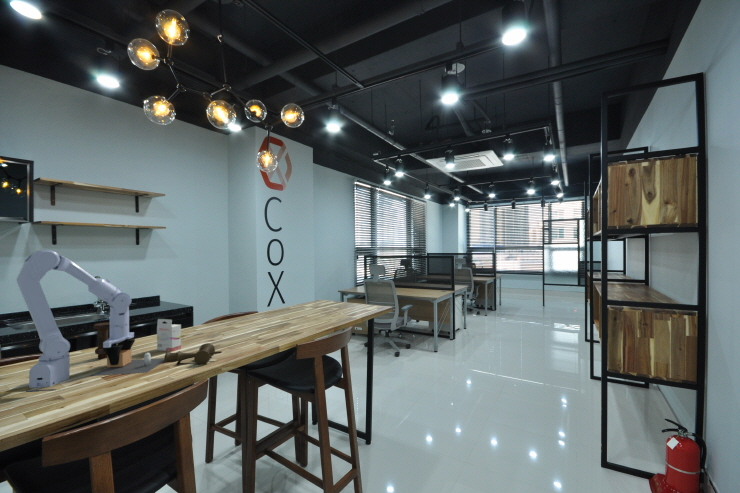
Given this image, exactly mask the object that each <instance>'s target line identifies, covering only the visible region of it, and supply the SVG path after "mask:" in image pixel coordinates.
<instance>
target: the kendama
mask: <svg viewBox="0 0 740 493" xmlns="http://www.w3.org/2000/svg"><path fill="white" fill-rule="evenodd" d="M165 352H166V353H165V354H164V357H163V358H164V362H163V363H169V362H177V364H180V363H181V362H182V361H185V360H189V359H194V362H195V364H197V365H199V366H200V365H206V364H207V363H209V362H210V360H211V359H210V358H212V357H213V356H214V355H216V354H218V355H219V354H221V353H223V351H221V350H220V351H216V349H215V346H214V345H213V344H212V343H210V342H209V343H208V342H207V343H204V344H202V345H201V346H199V350H198V351H197V352H182V351H180V350H179V351H177V352H172V351H165Z"/></svg>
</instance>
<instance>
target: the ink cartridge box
mask: <svg viewBox="0 0 740 493" xmlns="http://www.w3.org/2000/svg"><path fill="white" fill-rule="evenodd" d="M164 322H165V323H164ZM172 323H173V319H168V318H167V319H166V318H158V319H157V325H156V351H162V352H163V351H164V352H175V351H178V350H181V349H182V324H175V323H174V324H172Z"/></svg>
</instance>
